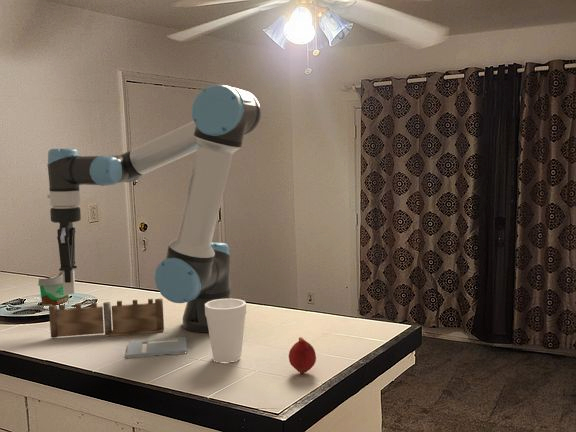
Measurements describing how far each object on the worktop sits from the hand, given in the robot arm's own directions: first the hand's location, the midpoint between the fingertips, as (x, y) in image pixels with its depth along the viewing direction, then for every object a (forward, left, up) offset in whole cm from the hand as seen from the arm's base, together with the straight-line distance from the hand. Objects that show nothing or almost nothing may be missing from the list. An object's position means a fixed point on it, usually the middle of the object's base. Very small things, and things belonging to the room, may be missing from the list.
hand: (69, 293), depth 159 cm
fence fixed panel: (-17, +7, -10) cm, 21 cm away
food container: (+8, -27, -10) cm, 30 cm away
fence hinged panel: (-3, +7, -10) cm, 12 cm away
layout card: (-23, +22, -10) cm, 33 cm away
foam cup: (-39, +33, -10) cm, 52 cm away
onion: (-54, +46, -10) cm, 72 cm away
